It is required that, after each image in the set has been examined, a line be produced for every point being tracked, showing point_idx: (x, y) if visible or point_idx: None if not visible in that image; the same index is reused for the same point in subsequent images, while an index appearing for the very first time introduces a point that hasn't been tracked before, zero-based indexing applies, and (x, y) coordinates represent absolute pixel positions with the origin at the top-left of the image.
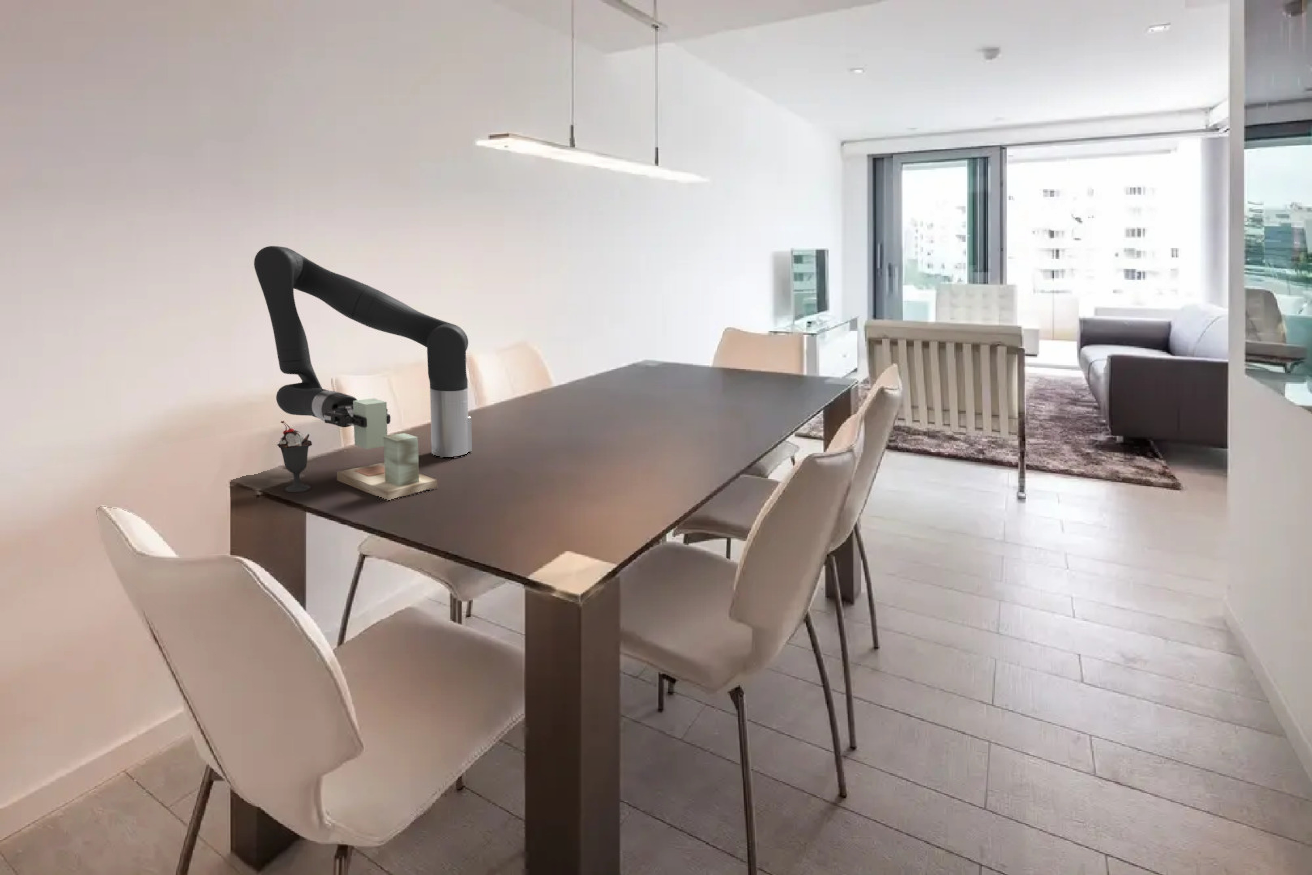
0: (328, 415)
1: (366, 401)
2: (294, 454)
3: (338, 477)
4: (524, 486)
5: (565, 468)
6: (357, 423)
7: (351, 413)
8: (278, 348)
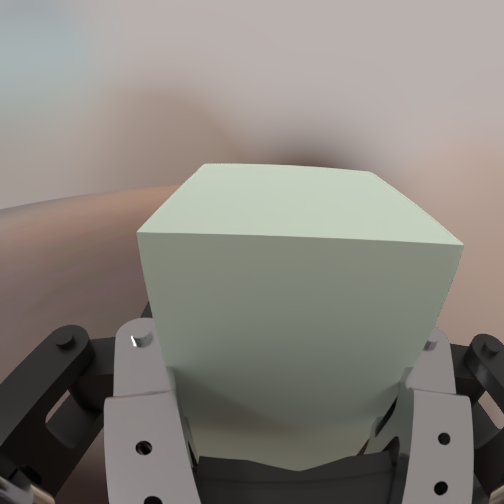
0: None
1: (330, 193)
2: None
3: None
4: (116, 259)
5: (21, 265)
6: None
7: (437, 337)
8: None
